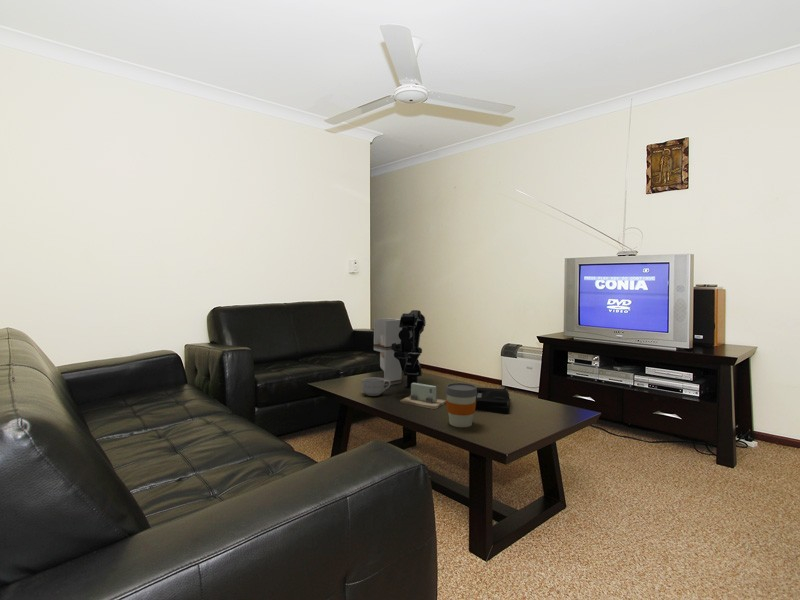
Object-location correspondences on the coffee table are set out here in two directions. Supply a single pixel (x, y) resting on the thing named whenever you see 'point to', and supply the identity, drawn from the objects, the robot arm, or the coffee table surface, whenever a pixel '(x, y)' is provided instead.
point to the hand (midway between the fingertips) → (408, 369)
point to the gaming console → (492, 400)
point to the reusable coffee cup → (461, 403)
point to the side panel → (423, 402)
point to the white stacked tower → (388, 348)
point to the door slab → (423, 391)
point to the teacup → (374, 386)
